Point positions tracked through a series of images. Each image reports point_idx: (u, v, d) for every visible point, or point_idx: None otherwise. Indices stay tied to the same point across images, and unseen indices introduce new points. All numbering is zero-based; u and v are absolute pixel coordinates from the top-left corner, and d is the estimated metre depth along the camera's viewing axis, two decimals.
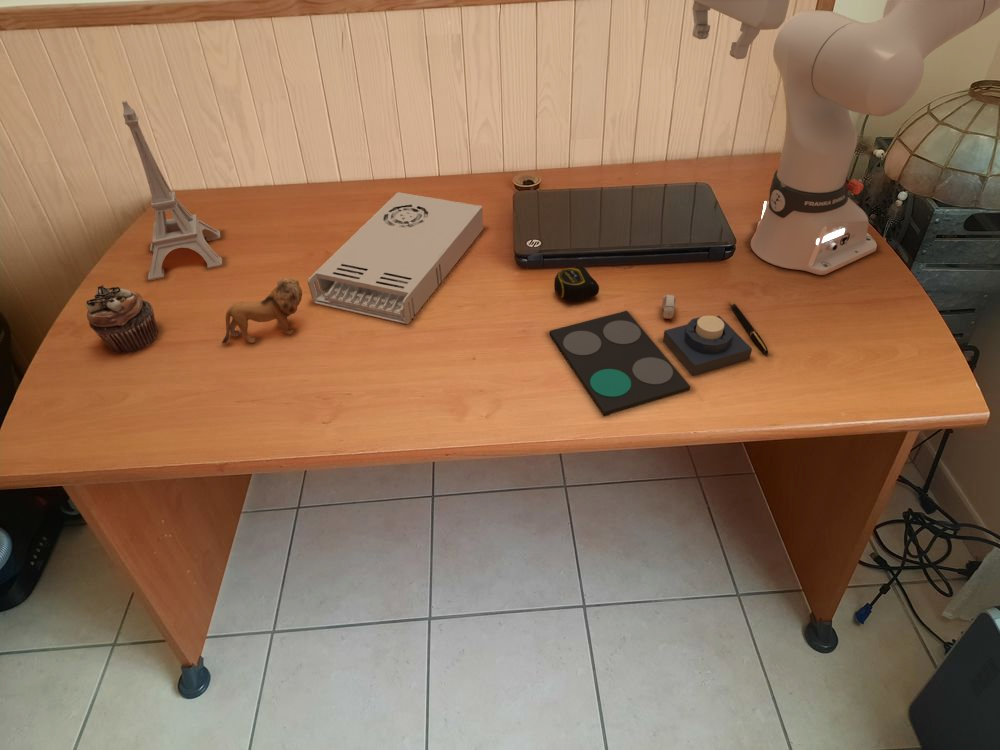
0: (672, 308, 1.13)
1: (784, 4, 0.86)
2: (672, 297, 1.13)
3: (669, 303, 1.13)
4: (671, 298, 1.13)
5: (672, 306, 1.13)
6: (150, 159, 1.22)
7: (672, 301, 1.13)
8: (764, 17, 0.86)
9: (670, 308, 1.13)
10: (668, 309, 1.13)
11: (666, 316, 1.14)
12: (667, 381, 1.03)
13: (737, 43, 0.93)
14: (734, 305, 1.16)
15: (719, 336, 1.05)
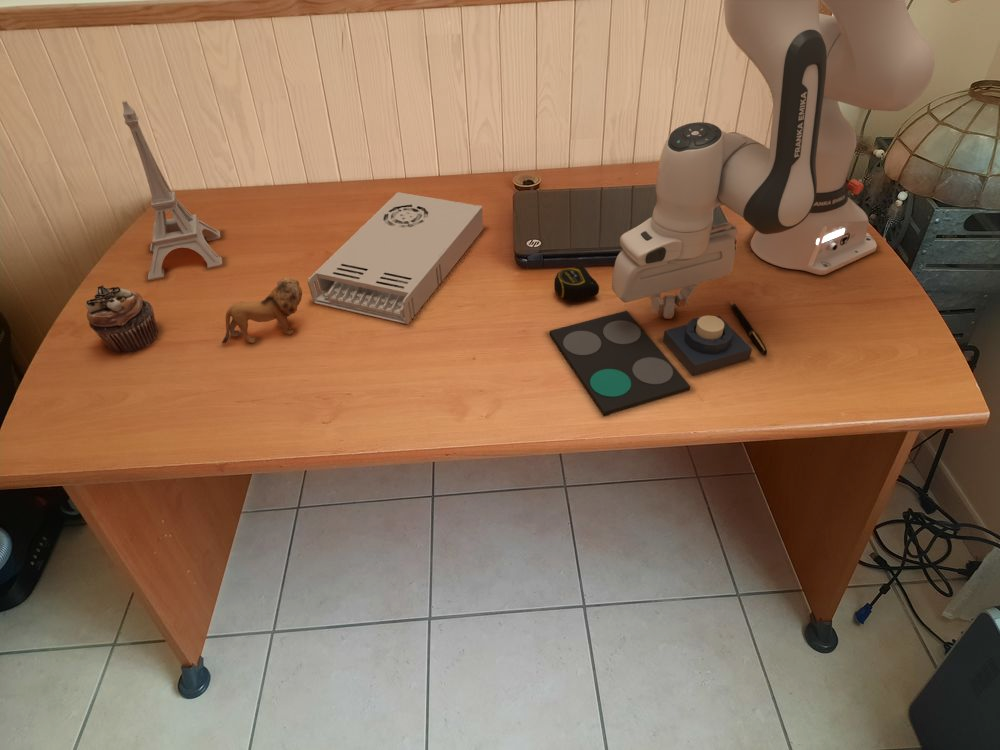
0: (672, 308, 1.13)
1: None
2: (672, 297, 1.13)
3: (669, 303, 1.13)
4: (671, 298, 1.13)
5: (672, 306, 1.13)
6: (150, 159, 1.22)
7: (672, 301, 1.13)
8: None
9: (670, 308, 1.13)
10: (668, 309, 1.13)
11: (666, 316, 1.14)
12: (667, 381, 1.03)
13: (687, 297, 1.13)
14: (734, 305, 1.16)
15: (719, 336, 1.05)
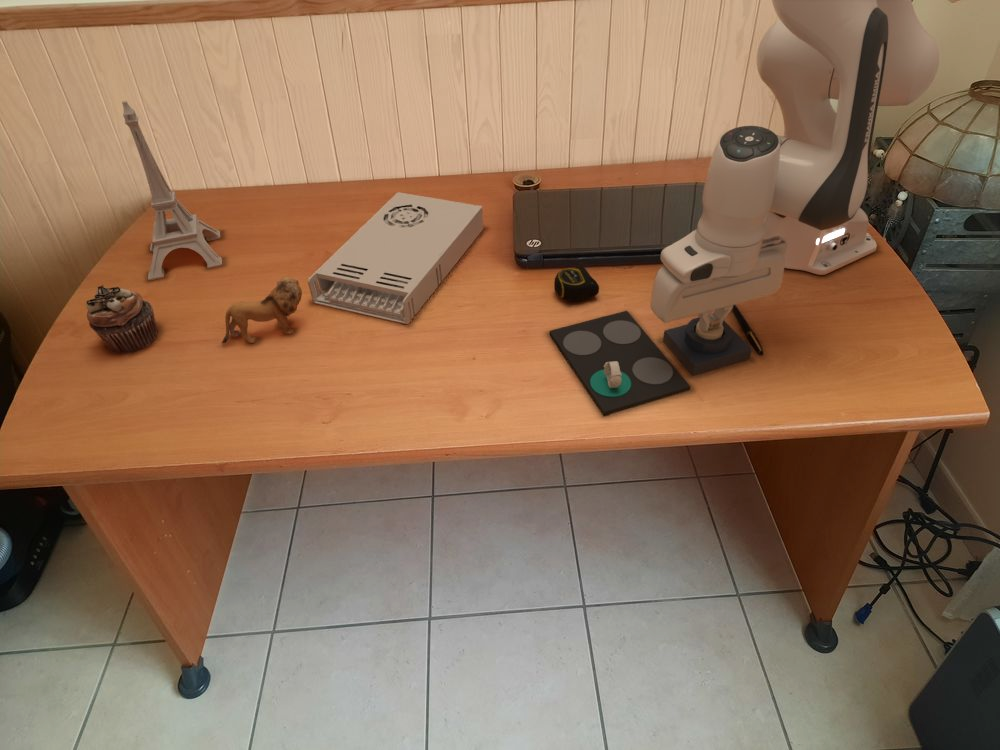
0: (619, 377, 1.00)
1: None
2: (616, 364, 1.00)
3: (615, 372, 1.00)
4: (616, 366, 1.00)
5: (619, 375, 1.00)
6: (150, 159, 1.22)
7: (618, 369, 1.00)
8: None
9: (617, 377, 1.00)
10: (615, 379, 1.00)
11: (613, 386, 1.01)
12: (667, 381, 1.03)
13: (722, 318, 1.04)
14: (734, 305, 1.16)
15: None
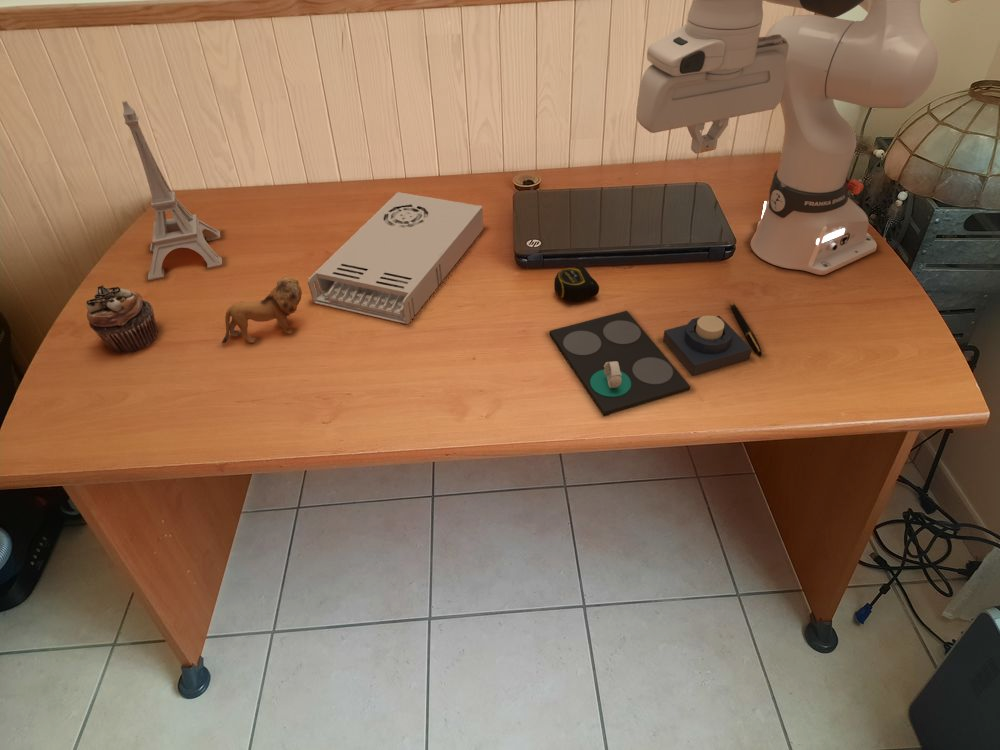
0: (619, 377, 1.00)
1: None
2: (616, 364, 1.00)
3: (615, 372, 1.00)
4: (616, 366, 1.00)
5: (619, 375, 1.00)
6: (150, 159, 1.22)
7: (618, 369, 1.00)
8: (782, 96, 0.93)
9: (617, 377, 1.00)
10: (615, 379, 1.00)
11: (613, 386, 1.01)
12: (667, 381, 1.03)
13: (716, 137, 0.94)
14: (733, 305, 1.16)
15: (719, 336, 1.05)
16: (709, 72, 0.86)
